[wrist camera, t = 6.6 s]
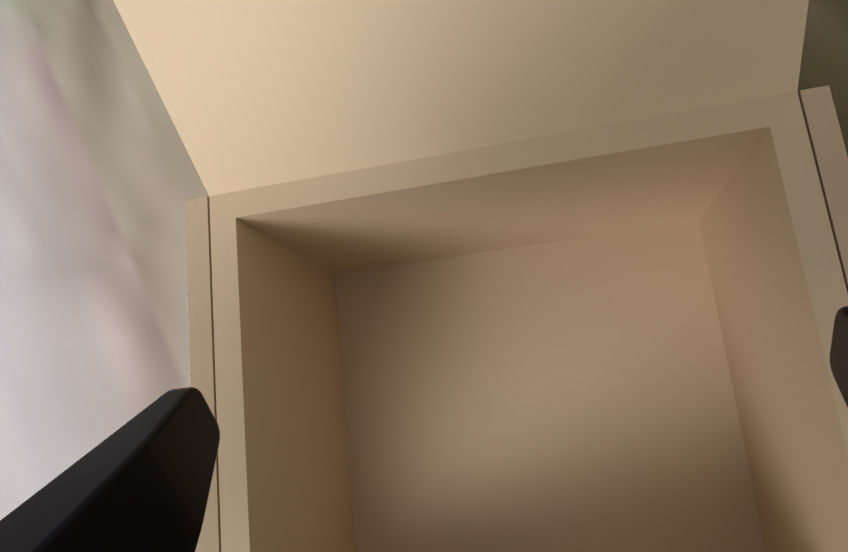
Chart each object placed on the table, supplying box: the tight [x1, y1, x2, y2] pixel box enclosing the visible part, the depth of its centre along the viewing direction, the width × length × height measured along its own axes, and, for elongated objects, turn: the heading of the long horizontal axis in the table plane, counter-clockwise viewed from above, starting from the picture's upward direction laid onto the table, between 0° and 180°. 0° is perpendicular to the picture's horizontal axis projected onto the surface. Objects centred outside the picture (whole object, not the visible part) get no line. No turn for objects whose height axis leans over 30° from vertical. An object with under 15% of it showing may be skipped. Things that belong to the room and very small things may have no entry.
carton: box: [186, 85, 848, 552], centre depth 15 cm, size 13×13×7 cm
